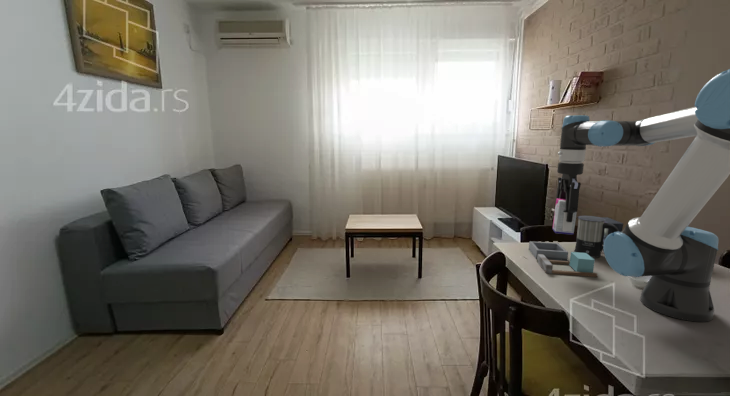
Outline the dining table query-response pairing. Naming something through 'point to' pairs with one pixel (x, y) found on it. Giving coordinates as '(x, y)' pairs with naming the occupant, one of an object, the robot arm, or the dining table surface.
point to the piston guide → (548, 268)
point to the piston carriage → (581, 262)
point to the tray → (548, 250)
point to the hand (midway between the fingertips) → (563, 227)
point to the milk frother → (591, 235)
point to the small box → (614, 222)
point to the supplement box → (561, 217)
